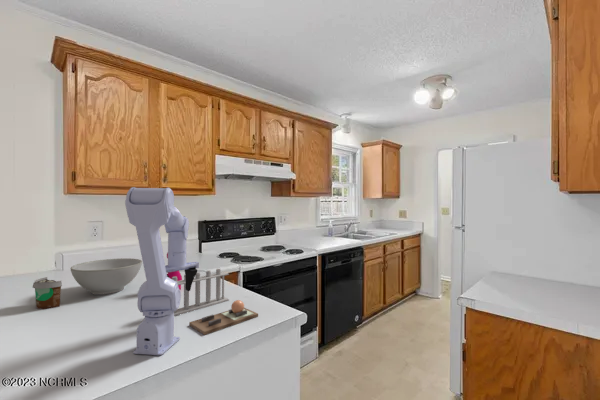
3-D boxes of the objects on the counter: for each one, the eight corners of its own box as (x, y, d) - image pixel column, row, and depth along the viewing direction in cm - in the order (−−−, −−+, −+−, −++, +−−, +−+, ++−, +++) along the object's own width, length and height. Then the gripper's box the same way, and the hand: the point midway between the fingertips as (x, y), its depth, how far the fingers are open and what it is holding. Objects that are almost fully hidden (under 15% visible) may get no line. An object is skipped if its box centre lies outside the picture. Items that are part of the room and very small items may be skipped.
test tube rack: (166, 319, 98) (166, 280, 98) (161, 315, 101) (161, 277, 101) (229, 300, 116) (229, 268, 117) (223, 298, 119) (223, 266, 120)
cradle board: (204, 335, 85) (204, 327, 85) (189, 325, 92) (189, 318, 92) (258, 316, 100) (258, 310, 100) (241, 309, 107) (241, 303, 107)
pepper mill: (164, 288, 132) (165, 245, 133) (181, 287, 135) (182, 244, 136) (164, 293, 126) (165, 247, 126) (182, 291, 129) (182, 246, 129)
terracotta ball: (242, 315, 97) (242, 302, 97) (229, 315, 98) (229, 302, 98) (245, 311, 102) (245, 298, 102) (233, 310, 102) (233, 298, 102)
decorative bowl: (119, 280, 148) (119, 256, 148) (154, 286, 136) (154, 261, 136) (56, 294, 124) (57, 266, 124) (93, 304, 112) (93, 273, 112)
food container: (25, 306, 109) (26, 280, 109) (46, 302, 114) (46, 276, 114) (41, 312, 103) (41, 284, 103) (61, 307, 109) (62, 280, 109)
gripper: (192, 248, 104) (192, 285, 104) (149, 253, 94) (149, 294, 94) (201, 250, 99) (201, 290, 99) (157, 255, 89) (157, 299, 89)
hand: (176, 292), depth 96 cm, fingers open, 7 cm apart
